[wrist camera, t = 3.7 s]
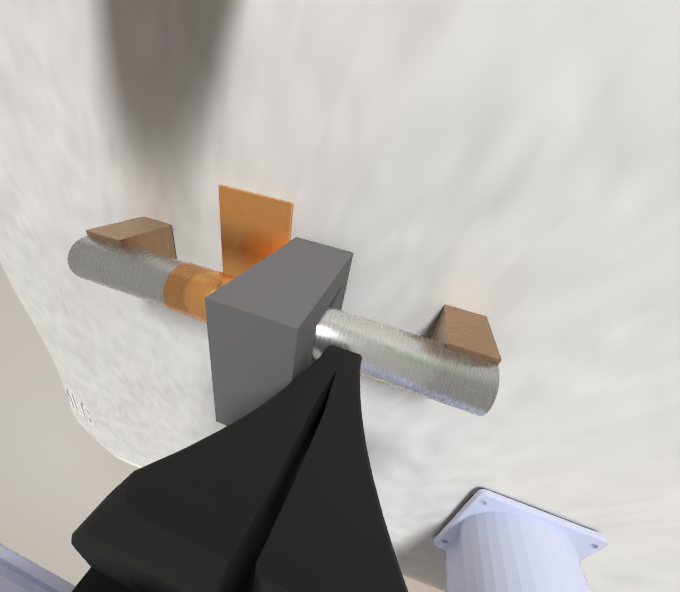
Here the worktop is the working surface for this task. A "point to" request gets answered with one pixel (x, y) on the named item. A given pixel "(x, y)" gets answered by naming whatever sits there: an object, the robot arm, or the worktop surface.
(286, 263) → the collar
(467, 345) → the rail
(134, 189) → the worktop surface
